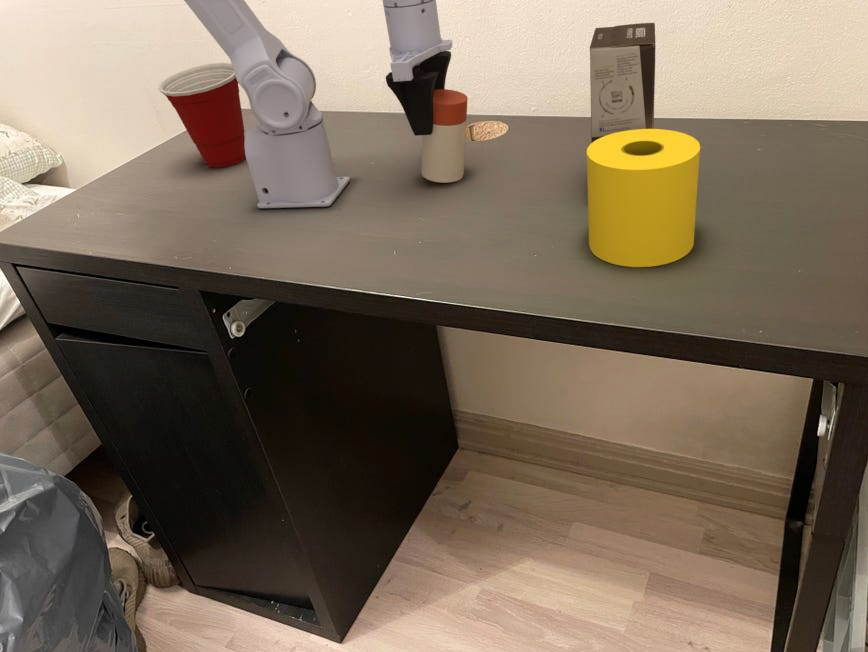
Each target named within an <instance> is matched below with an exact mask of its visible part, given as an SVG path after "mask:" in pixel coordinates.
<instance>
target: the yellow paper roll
mask: <svg viewBox="0 0 868 652" xmlns="http://www.w3.org/2000/svg"><path fill="white" fill-rule="evenodd" d="M588 145H589V146H587V148H586V177H587V178H586V179H587V216H588V247H589V250H590V251H591V252H592V254H593V255H594V256H596V257H597V258H598V259H600V260H602V261H604V262H606V263H609V264H612V265H617V266H621V267H627V268H650V267H651V268H652V267H657V266H663V265H667V264H671V263H673V262H676V261H678V260H681V259H682V258H684V257H685V256H687V255H688V254H689V253H690V252H691V251H692V250H693V247H694V244H695V231H696V229H695V228H696V214H697V198H698V186H699V173H700V172H699V171H700V157H701V156H700V155H701V145H700V142H699V141H698V140H697V139H696V138H695V137H694V136H692V135H690V134H687V133H684V132H681V131H677V130H671V129H662V128H653V129H636V130H628V131H622V132H617V133H613V134H610V135H607V136H604V137H601V138H599V139H597V140H596V141H594V142H593V143H591V142H590V144H588Z"/></svg>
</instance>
